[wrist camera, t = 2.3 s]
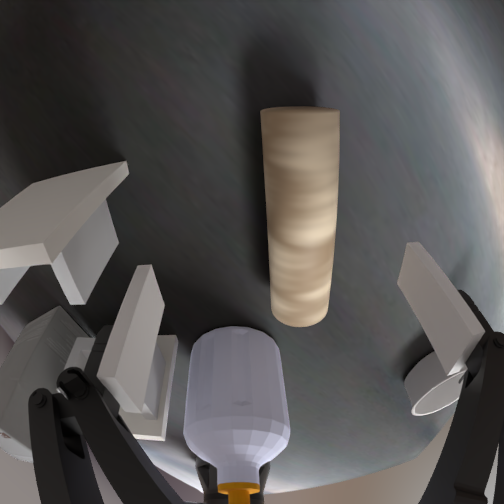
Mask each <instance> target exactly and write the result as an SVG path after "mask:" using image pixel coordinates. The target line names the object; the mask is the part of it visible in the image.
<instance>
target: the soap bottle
mask: <svg viewBox="0 0 504 504" xmlns="http://www.w3.org/2000/svg"><path fill="white" fill-rule="evenodd" d="M183 435H184V437H185V440H186V443H187V445H188V447H189V448H190V450H191V451H193V452H194V453H195V454H196V455H197V456H198V457H200V458H201V459H203V460H204V461H206V462H208V463H210V464H212V465H213V466H214V467H216V468H217V486H218V492H219V493H222V494H228V503H229V504H250V494H253V493H257V492H260V483H259V469H260V467H261V466H262V465H263V464H265V463H267V462H269V461H270V460H272V459H273V458H275V457H276V456H277V455H278V454H279V453H280V452H281V451H282V450H284V449H285V448H286V447H287V443H288V440H289V436H290V423H289V415H288V408H287V401H286V393H285V386H284V379H283V372H282V365H281V358H280V351H279V348H278V346H277V345H276V343H275V341H274V340H273V339H272V338H271V337H269V336H268V335H267V334H265V333H264V332H262V331H259V330H256V329H252V328H249V327H238V326H229V327H223V328H217V329H214V330H212V331H210V332H208V333H205V334H203V335H202V336H201V337H200V338H199V339H198V340H197V341H196V342H195V343H194V345H193V348H192V352H191V358H190V367H189V377H188V387H187V397H186V408H185V419H184V432H183Z"/></svg>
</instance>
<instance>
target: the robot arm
mask: <svg viewBox="0 0 504 504" xmlns="http://www.w3.org/2000/svg"><path fill="white" fill-rule="evenodd" d="M397 284H398V286H399V288H400V289H401V291H402V293H403V294H404V296H405V298H406V299H407V301H408V303H409V305H410V306H411V308H412V310H413V312H414V313H415V315H416V317H417V319H418V320H419V322H420V324H421V326H422V328H423V330H424V331H425V333H426V335H427V337H428V339H429V341H430V343H431V345H432V347H433V348H434V350H435V352H436V354H437V356H438V358H439V360H440V362H441V364H442V366H443V368H444V371H445V373H446V375H447V376H449V375H451V374H454V373H457V372H460V370H461V369H462V367H463V366H464V364H466V366H467V368H468V369H467V370H466V372H465V373H464V375H463V376H462V377H461V379H460V380H459V382H458V383H459V384H460V383H461V382H462V380H463V379H464V380H463V384H462V388H461V392H460V396H459V400H458V404H457V407H456V411H455V414H454V417H453V421H452V424H451V427H450V430H449V433H448V436H447V439H446V442H445V444H444V447H443V450H442V453H441V455H440V458H439V460H438V463H437V465H436V468H435V470H434V472H433V475H432V477H431V479H430V482H429V484H428V486H427V488H426V490H425V492H424V494H423V496H422V499H421V500H420V502H419V503H418V504H487V503H488V500H487V497H486V496H485V495H484V491H485V488H486V485H487V482H488V479H489V475H490V473H491V469H492V466H493V462H494V459H495V455H496V451H497V447H498V443H499V450H498V451H499V452H498V466H497V476H496V485H495V494H494V500H493V504H504V334H503V333H501V332H494V331H493V330H492V328H491V326H490V325H489V323H488V322H487V321H486V319H485V318H484V316H483V315H482V313H481V312H480V311H479V309H478V308H477V306H476V305H474V302H473V301H472V299H471V298H470V296H469V295H467V294H466V293H465V292H464V291H462V290H457V289H456V288H455V287H454V285H453V284H452V283H451V281H450V280H449V279H448V277H447V276H446V275H445V274H444V272H443V271H442V270H441V268H440V267H439V266H438V265H437V263H436V262H435V261H434V260H433V258H432V257H431V256H430V255H429V254H428V252H427V251H426V250H425V249H424V247H423V246H422V245H421V244H420V243H419V242H411V243H407V246H406V250H405V254H404V259H403V263H402V267H401V271H400V274H399V278H398V282H397ZM164 306H165V304H164V301H163V298H162V295H161V292H160V289H159V286H158V283H157V280H156V277H155V274H154V271H153V268H152V264H150V265H138V266H137V268H136V270H135V273H134V275H133V277H132V280H131V282H130V285H129V287H128V290H127V292H126V295H125V297H124V300H123V302H122V305H121V307H120V310H119V313H118V315H117V318H116V321H115V323H114V325H104V326H103V328H102V329H101V330H100V331H99V332H98V333H97V336H96V339H95V341H94V345H93V346H92V349H91V352H90V355H89V357H88V360H87V363H86V366H85V368H84V371H83V370H82V369H81V368H78V367H69V368H67V369H65V370H64V371H62V372H61V373H60V375H59V376H58V379H57V382H56V384H57V389H58V390H59V391H60V393H55V394H52V393H51V392H50V391H49V390H48V389H46V388H38V389H37V390H35V391H34V392H33V393H32V394H31V395H30V397H29V401H28V414H29V429H30V440H31V449H32V457H33V464H34V470H35V475H36V481H37V486H38V491H39V496H40V500H41V504H104V502H103V499H102V496H101V494H100V490H99V488H98V484H97V481H96V478H95V474H94V471H93V467H92V463H91V460H90V456H89V452H88V448H87V444H86V441H87V443H88V445H89V447H90V449H91V450H92V452H93V454H94V456H95V458H96V460H97V462H98V463H99V465H100V467H101V469H102V470H103V472H104V474H105V476H106V477H107V479H108V480H109V482H110V484H111V485H112V487H113V489H114V490H115V491H116V493H117V495H118V496H119V498H120V499H121V501H122V502H123V504H229V503H228V494H222V493H219V492H218V486H217V468H216V467H214V466H213V465H212V464H210V463H208V462H206V461H204V460H203V459H201V458H200V457H198V456H197V457H196V471H197V474H198V477H199V480H200V483H201V485H202V488H203V491H204V503H197V502H188V501H183V500H182V499H181V498H180V497H179V496H178V494H177V493H176V492H175V491H174V490H173V488H172V487H171V486H170V485H169V484H168V483H167V481H166V480H165V479H164V477H163V476H162V475H161V474H160V472H159V471H158V470H157V468H156V467H155V466H154V464H153V463H152V462H151V460H150V459H149V457H148V456H147V455H146V453H145V452H144V450H143V449H142V448H141V446H140V445H139V443H138V442H137V440H136V439H135V437H134V436H133V434H132V433H131V431H130V430H129V428H128V427H127V425H126V424H125V422H124V420H123V419H122V417H121V416H120V415H119V409H120V406H121V407H122V408H123V410H124V411H125V412H131V413H142V410H143V405H144V399H145V394H146V388H147V383H148V378H149V373H150V368H151V363H152V359H153V354H154V349H155V345H156V340H157V336H158V332H159V327H160V323H161V319H162V315H163V310H164ZM269 470H270V461H269V462H267V463H265V464H263V465H262V466H261V467H260V469H259V483H260V492H257V493H253V494H250V504H264V496H263V492H264V488H265V484H266V481H267V477H268V474H269Z"/></svg>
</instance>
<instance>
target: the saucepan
mask: <svg viewBox="0 0 504 504" xmlns="http://www.w3.org/2000/svg"><path fill="white" fill-rule="evenodd" d="M467 369H468V368H467V366H466V364H464V366H463V367H462V369H461V370H460V372H457V373H454V374H451V375H449V376H447V375H446V373H445V371H444V368H443V366H442V364H441V362H440V360H439V358H438V356H437V354H436V352H435V351H434V352H432V353H430V354H429V355H427V356H426V357H424V358H423V359H422V360H421V361H419V362H418V363H417V364H416V365H415V367H414V368H413V369H412V370H411V371H410V373H409V374H408V375H407V377H406V379H405V381H404V387H405V389H406V392H407V394H408V397H409V399H410V402H411V405H412V407H413V408H412V411H411V412H412V414H413V415H416V416H422V415H427V414H430V413H433V412H436V411H438V410H440V409H442V408H444V407H446V406H448V405H450V404H451V403H453V402H454V401H456V400H457V399H459V396H460V392H461V388H462V384H463V380H464V379H463V380H462V382H461V383H460V384H459V383H458V382H459V380H460V379H461V377H462V376H463V375H464V373H465V372H466V370H467Z"/></svg>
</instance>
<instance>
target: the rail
mask: <svg viewBox="0 0 504 504" xmlns="http://www.w3.org/2000/svg"><path fill="white" fill-rule="evenodd" d="M260 116H261V130H262V145H263V161H264V177H265V194H266V212H267V230H268V249H269V270H270V291H271V310H272V313H273V315H274V316H275V317H276V318H277V319H278V320H279V321H280V322H282V323H284V324H286V325H289V326H294V327H306V326H310V325H313V324H316V323H318V322H319V321H321V320H322V319H323V318H324V317H325V315H326V313H327V310H328V303H329V294H330V286H331V276H332V266H333V256H334V244H335V232H336V217H337V201H338V179H339V142H340V111H339V110H337V109H332V108H326V107H313V106H293V107H274V108H267V109H263V110H261V111H260Z"/></svg>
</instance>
